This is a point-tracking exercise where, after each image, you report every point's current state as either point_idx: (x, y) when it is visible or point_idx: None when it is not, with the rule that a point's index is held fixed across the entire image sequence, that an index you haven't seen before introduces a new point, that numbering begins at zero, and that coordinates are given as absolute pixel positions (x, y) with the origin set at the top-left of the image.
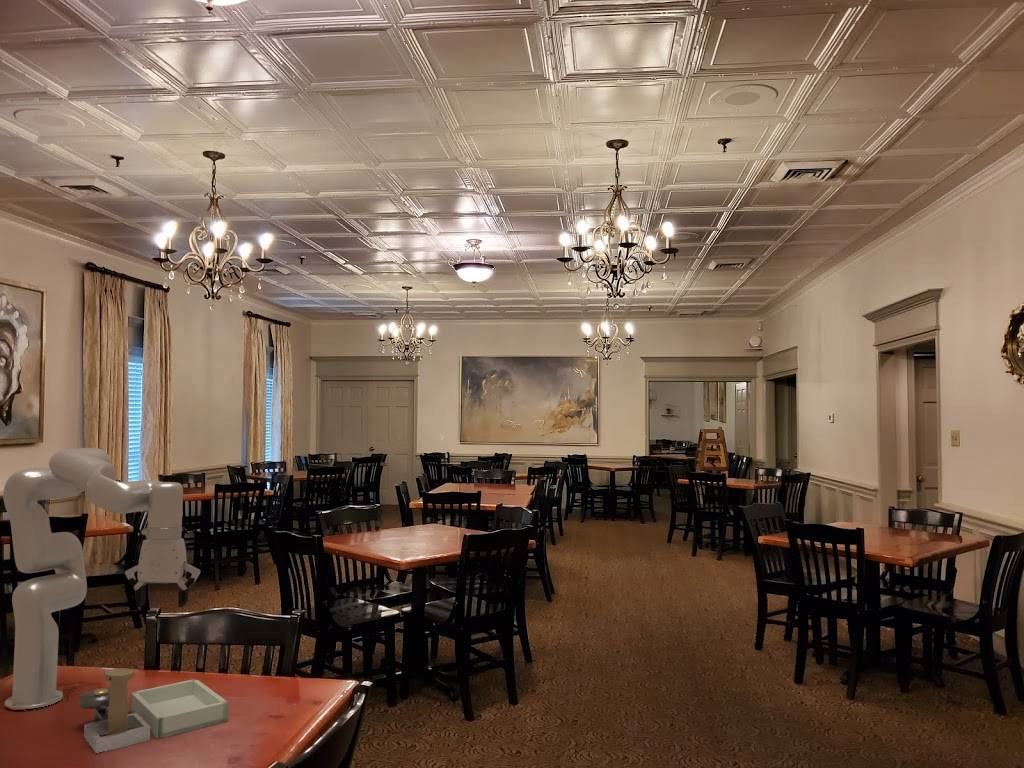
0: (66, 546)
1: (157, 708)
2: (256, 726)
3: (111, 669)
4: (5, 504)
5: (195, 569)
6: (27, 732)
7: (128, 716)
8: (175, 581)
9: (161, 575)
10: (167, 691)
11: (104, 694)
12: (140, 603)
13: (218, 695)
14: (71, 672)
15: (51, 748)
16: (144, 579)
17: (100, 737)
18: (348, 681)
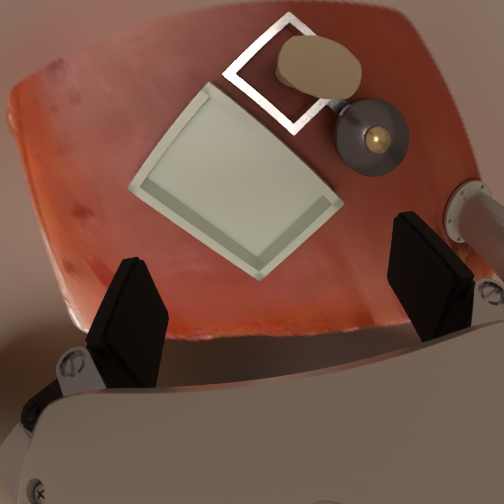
0: None
1: (284, 192)
2: (84, 170)
3: (357, 87)
4: None
5: (5, 484)
6: (436, 103)
7: (299, 118)
8: (67, 397)
9: (248, 493)
10: (290, 236)
11: (366, 132)
12: (403, 229)
13: (165, 215)
14: None
15: (371, 39)
16: (498, 350)
17: (288, 20)
18: (86, 329)
